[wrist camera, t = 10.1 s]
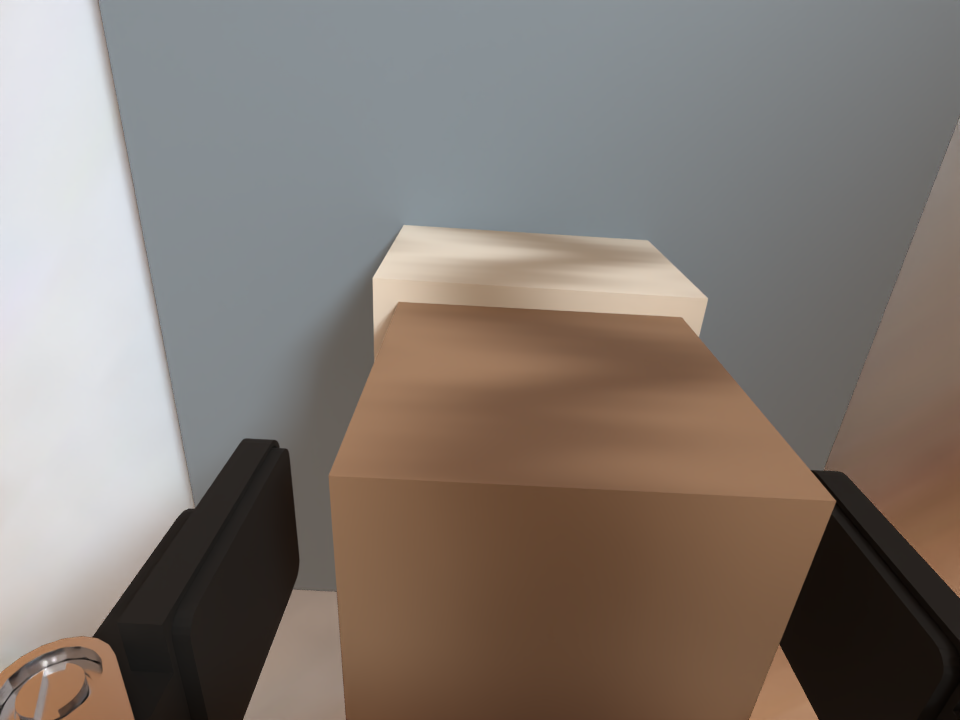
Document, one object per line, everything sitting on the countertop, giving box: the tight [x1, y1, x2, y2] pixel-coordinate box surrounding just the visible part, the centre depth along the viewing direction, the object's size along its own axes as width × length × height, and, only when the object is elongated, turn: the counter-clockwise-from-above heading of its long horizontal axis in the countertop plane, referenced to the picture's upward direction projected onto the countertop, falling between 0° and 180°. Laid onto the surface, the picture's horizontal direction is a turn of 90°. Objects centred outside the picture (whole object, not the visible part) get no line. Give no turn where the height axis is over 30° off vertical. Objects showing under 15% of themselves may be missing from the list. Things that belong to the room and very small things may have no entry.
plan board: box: [98, 0, 960, 592], centre depth 18 cm, size 22×22×1 cm
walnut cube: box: [329, 302, 836, 720], centre depth 11 cm, size 6×6×6 cm
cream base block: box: [373, 225, 708, 362], centre depth 16 cm, size 7×7×5 cm
